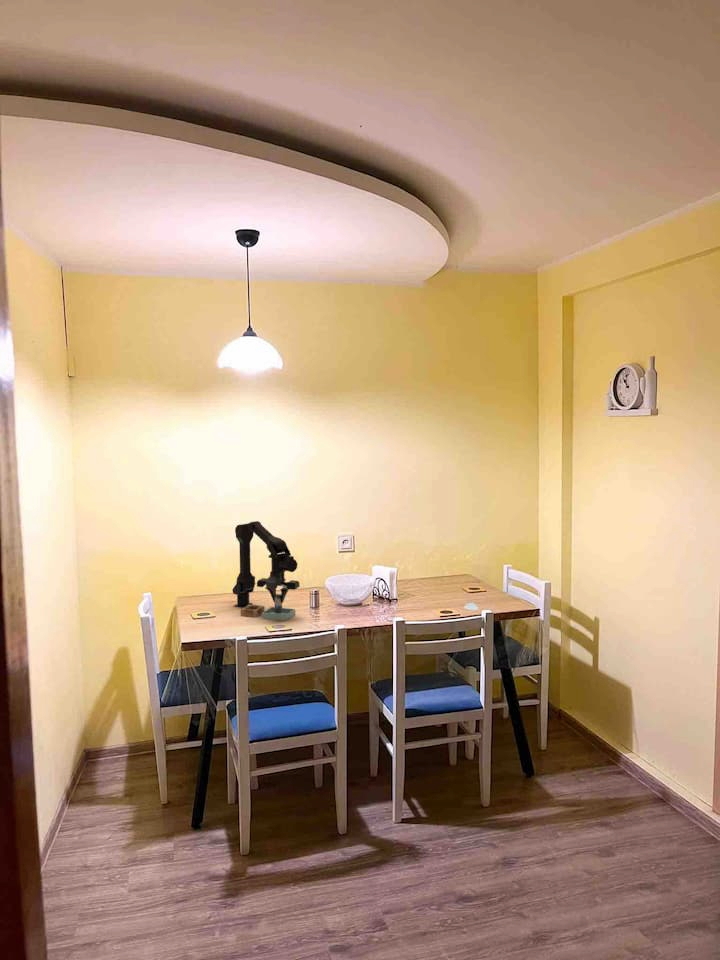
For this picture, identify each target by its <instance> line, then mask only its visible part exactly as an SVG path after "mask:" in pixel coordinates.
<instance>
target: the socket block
mask: <svg viewBox="0 0 720 960" xmlns="http://www.w3.org/2000/svg"><path fill="white" fill-rule="evenodd" d="M264 611H266V610H265V605H258V604H252V605H247V606H246V607H241V608H240V616H241V617H249V618H259V616H262V612H264Z"/></svg>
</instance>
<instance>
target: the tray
mask: <svg viewBox="0 0 720 960" xmlns="http://www.w3.org/2000/svg"><path fill="white" fill-rule="evenodd" d="M294 616H296V608H289V607H288V608H287V607H282V613H275V606H270V607H269V608H267V609H266V610H265V611H264V612H262V614H261V619H262V620H273V621H282V622H287V621H289V620H290V619H292V618H293V617H294Z"/></svg>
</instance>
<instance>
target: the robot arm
mask: <svg viewBox="0 0 720 960" xmlns="http://www.w3.org/2000/svg"><path fill="white" fill-rule="evenodd" d="M234 532H235V538H236V540H237V541H238V544H239V573H238V575H237V577H236V583H235V585H234V586H233V588H232V594H233V595H236V597H237V598H236V600H237V601H236V604H235V605H234V607H236V608H244V607H246V606H247V605H253V602H250V594H251V593H253V592H254V589H255V585H256V587H257V588H263V587H264V586H265V588H264V589H265V590H267V591H268V592H269V594H270V596H271V599H272V602H273V603H275V597H274V595H275V594H277V588H278V587H282V588H280V592H281V593H280V594H281V603H282V604H283V603H284V601H285V598H286V595H287V594H288V592H289V590H292V591H293V590H294V591H295V590H297V589H298V588H300V581H298V580H295V579H294V580H293V579H292V580H289V581H288V582H287V581H286V578H285V573H286V572H290V573H294V572H295V571H296V570H297V569H298V562H297V560H296V559H295V557H294V555H292V554H291V552H290V550H289V547H288V545H287V542H286V541H285V540H284V539H282V538H280V537H277V536H275V535H273V534H272V533H271V532H270V531H269V530H268V529H266V527H265V526H263V525H262V522H260V521H258V520H255V521H250V522H247V523H242V524H238V525H236V527H235V529H234ZM254 534H255V536H257V537H258V538H259V539H260V540H261V541H262V542H264V544H265V545H266V549H267V551H268V552H269V553H270V554H269V555H268V558H269V559H271V571H270V573H269V574H270V575H269V576H268V577H267V578H266V577H265V578H264V577H262V578H260V579H258V580H257V582H256V576H255V575H253V574H252V572H251V570H252V569H251V542H252V539H253V538H254Z"/></svg>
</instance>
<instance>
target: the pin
mask: <svg viewBox="0 0 720 960" xmlns="http://www.w3.org/2000/svg"><path fill="white" fill-rule="evenodd" d="M274 597H275V602H274V607H275V613H282V608H283V603H281V593H276V594H275V595H274Z"/></svg>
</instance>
